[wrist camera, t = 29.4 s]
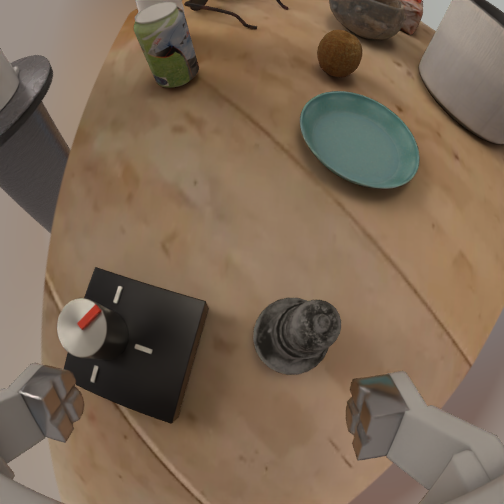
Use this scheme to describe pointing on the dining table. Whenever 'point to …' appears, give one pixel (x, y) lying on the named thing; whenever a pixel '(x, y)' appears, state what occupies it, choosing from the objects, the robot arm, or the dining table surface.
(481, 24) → the planter
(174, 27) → the beverage can
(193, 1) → the eyeglasses
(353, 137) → the saucer
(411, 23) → the food item
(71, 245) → the dining table surface
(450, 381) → the dining table surface
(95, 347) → the hob knob
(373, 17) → the bowl
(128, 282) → the dial base
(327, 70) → the fruit
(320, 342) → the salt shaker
